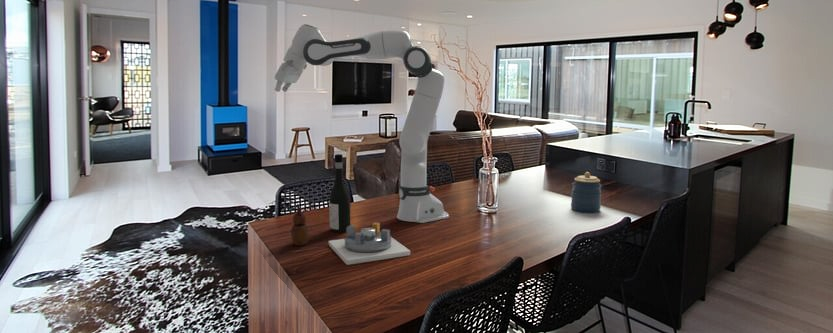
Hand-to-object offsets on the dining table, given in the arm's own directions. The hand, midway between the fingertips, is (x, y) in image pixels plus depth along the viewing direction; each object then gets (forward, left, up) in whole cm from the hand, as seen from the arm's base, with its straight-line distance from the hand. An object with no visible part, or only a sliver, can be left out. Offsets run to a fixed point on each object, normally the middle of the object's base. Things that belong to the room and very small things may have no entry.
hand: (280, 91), depth 207 cm
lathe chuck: (-17, +58, -52) cm, 80 cm away
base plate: (-17, +58, -54) cm, 81 cm away
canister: (-127, +46, -54) cm, 146 cm away
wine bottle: (-15, +31, -54) cm, 64 cm away
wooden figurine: (+3, +42, -54) cm, 68 cm away
